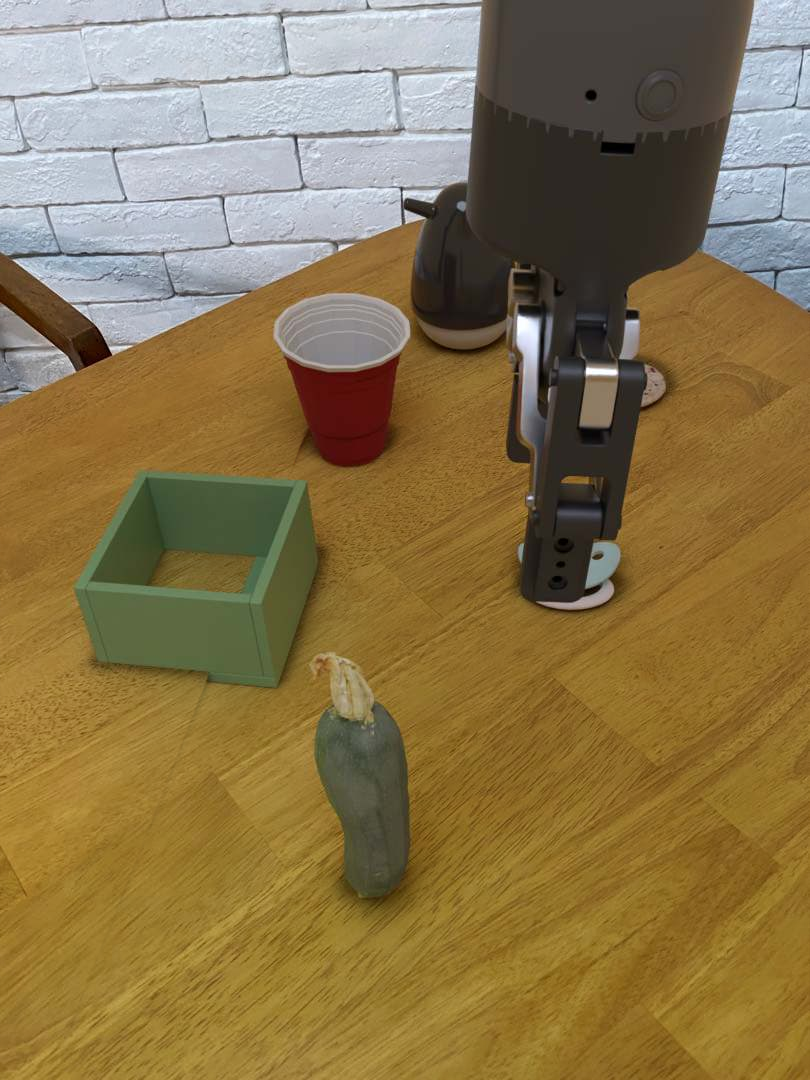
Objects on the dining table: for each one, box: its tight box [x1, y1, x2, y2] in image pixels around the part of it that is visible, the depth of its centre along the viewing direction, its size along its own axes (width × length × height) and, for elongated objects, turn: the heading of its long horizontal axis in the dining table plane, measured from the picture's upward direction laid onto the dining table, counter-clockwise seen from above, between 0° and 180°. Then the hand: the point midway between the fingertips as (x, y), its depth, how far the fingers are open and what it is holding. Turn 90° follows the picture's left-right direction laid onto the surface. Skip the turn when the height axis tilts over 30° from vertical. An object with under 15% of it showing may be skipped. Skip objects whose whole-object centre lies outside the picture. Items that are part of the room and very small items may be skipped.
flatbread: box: [641, 363, 667, 408], centre depth 100 cm, size 8×8×1 cm
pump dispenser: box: [402, 181, 517, 350], centre depth 104 cm, size 10×10×15 cm
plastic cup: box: [273, 292, 411, 468], centre depth 92 cm, size 11×11×12 cm
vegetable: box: [308, 651, 411, 899], centre depth 57 cm, size 4×4×20 cm
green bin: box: [73, 469, 319, 689], centre depth 79 cm, size 13×13×8 cm
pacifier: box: [517, 541, 622, 611], centre depth 80 cm, size 7×6×6 cm
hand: (540, 522), depth 43 cm, fingers open, 8 cm apart
